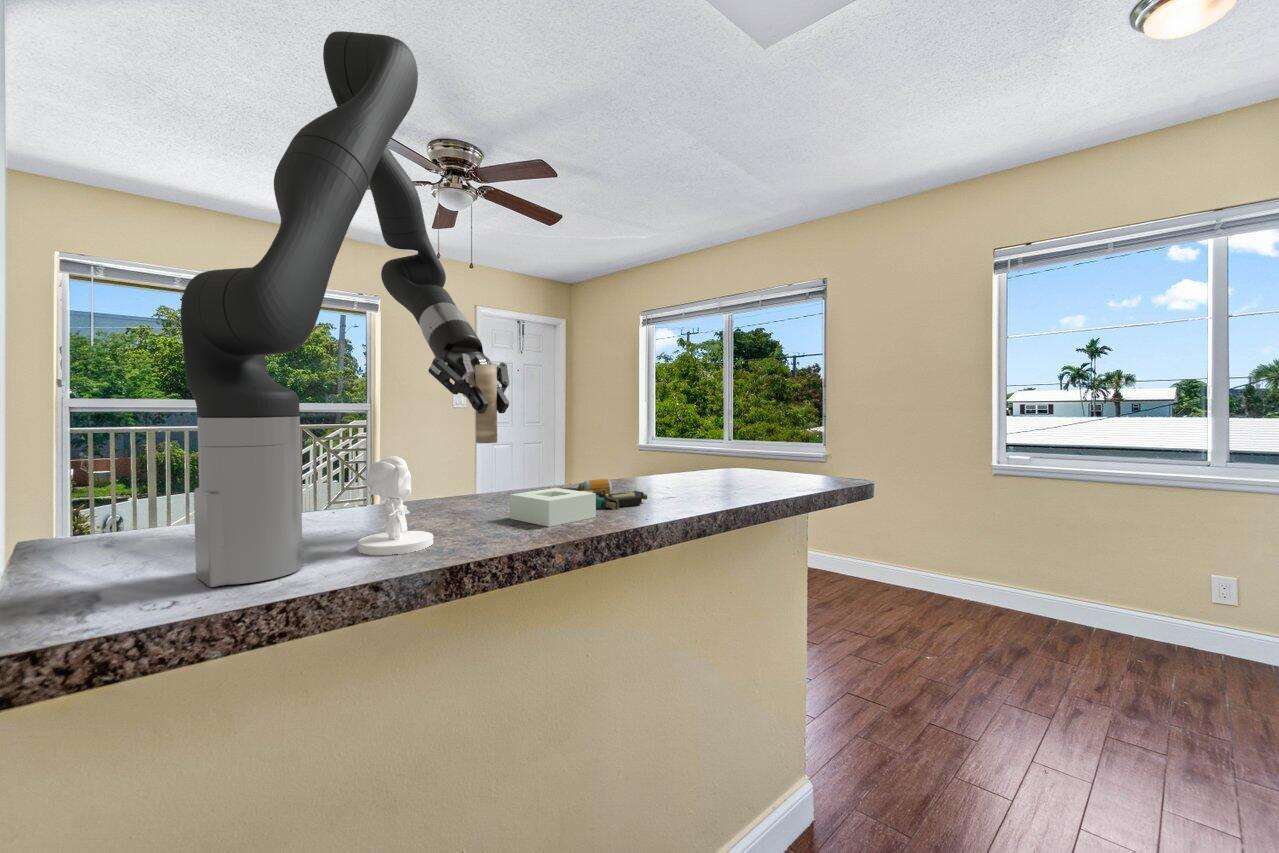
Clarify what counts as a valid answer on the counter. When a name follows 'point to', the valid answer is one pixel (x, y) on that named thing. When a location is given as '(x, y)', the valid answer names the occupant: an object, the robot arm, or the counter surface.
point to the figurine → (392, 510)
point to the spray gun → (609, 494)
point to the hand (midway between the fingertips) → (494, 409)
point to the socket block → (552, 506)
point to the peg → (488, 387)
